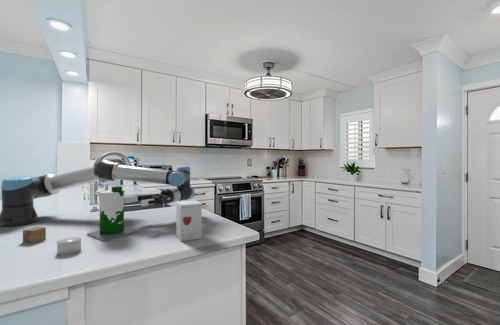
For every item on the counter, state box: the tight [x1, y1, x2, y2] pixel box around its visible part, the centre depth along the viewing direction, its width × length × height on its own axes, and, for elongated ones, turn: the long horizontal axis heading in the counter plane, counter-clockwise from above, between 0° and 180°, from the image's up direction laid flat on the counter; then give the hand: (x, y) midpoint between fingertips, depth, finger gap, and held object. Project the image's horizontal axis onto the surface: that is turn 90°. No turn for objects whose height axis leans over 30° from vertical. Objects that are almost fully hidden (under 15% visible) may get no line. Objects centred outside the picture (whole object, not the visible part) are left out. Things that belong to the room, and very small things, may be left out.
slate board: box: [86, 226, 137, 242], centre depth 109 cm, size 14×14×1 cm
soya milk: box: [98, 185, 126, 234], centre depth 109 cm, size 9×9×20 cm
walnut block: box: [22, 226, 47, 244], centre depth 100 cm, size 5×5×5 cm
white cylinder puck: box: [56, 236, 82, 256], centre depth 89 cm, size 7×7×4 cm
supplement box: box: [175, 199, 203, 242], centre depth 105 cm, size 9×9×15 cm
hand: (132, 202), depth 116 cm, fingers open, 13 cm apart
